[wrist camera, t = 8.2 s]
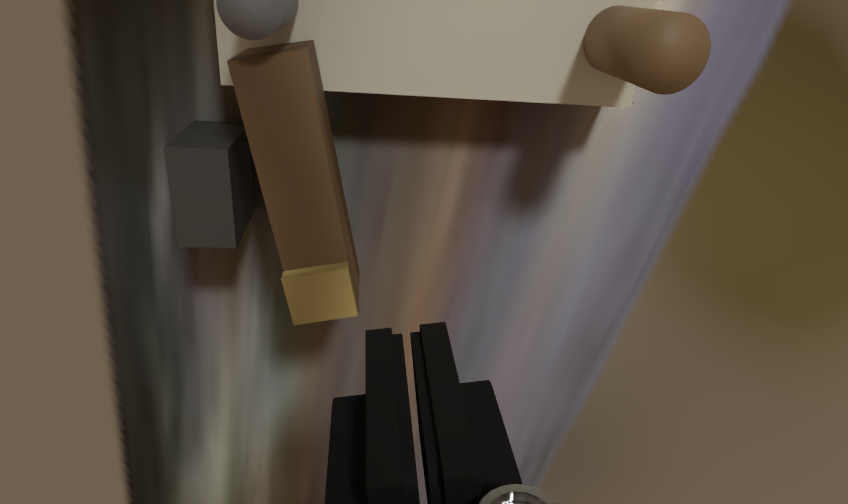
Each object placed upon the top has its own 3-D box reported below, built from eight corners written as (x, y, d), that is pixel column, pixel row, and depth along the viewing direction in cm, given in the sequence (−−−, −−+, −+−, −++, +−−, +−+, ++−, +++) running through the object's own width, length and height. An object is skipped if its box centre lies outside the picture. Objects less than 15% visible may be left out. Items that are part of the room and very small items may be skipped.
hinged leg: (313, 39, 20) (303, 52, 16) (359, 271, 24) (358, 320, 21) (246, 48, 20) (222, 63, 16) (304, 280, 24) (294, 329, 21)
